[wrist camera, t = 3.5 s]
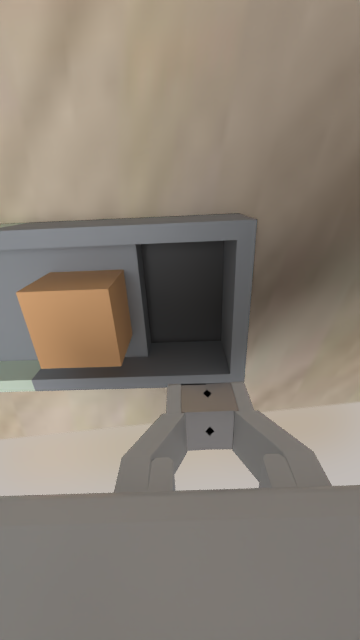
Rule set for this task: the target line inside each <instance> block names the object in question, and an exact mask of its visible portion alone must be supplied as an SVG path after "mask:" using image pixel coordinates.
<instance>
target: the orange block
mask: <svg viewBox="0 0 360 640" xmlns="http://www.w3.org/2000/svg"><path fill="white" fill-rule="evenodd" d="M16 295H17V298H18V301H19V304H20V307H21V310H22V313H23V316H24V319H25V322H26V325H27V328H28V331H29V334H30V337H31V340H32V343H33V346H34V349H35V352H36V355H37V358H38V361H39V364H40V367H41V369H51V368H84V367H117V366H122V363H123V360H124V357H125V355H126V352H127V349H128V346H129V343H130V340H131V338H132V327H131V320H130V313H129V306H128V299H127V291H126V284H125V277H124V270H123V269H122V270H97V271H72V272H50V273H48V274H46V275H45V276H43V277H41V278H39V279H38V280H36V281H34V282H33V283H31V284H29V285H27V286H26V287H24V288H22V289H21V290H19V291H17V292H16Z"/></svg>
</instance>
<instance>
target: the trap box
mask: <svg viewBox="0 0 360 640" xmlns="http://www.w3.org/2000/svg"><path fill="white" fill-rule="evenodd" d="M256 228H257V219H254V218H251V217H248V216H245V215H242V214H239V213H235V214H213V215H191V216H169V217H146V218H124V219H102V220H80V221H57V222H35V223H13V224H0V392H20V391H56V390H92V389H127V388H163V387H168V384H194V383H230V382H239V381H243V382H244V377H245V365H246V352H247V340H248V327H249V315H250V303H251V290H252V278H253V265H254V253H255V241H256ZM122 269H123V270H124V277H125V284H126V291H127V299H128V306H129V313H130V320H131V327H132V338H131V340H130V343H129V346H128V349H127V352H126V355H125V357H124V360H123V363H122V366H117V367H84V368H51V369H41V367H40V364H39V361H38V358H37V355H36V352H35V349H34V346H33V343H32V340H31V337H30V334H29V331H28V328H27V325H26V322H25V319H24V316H23V313H22V310H21V307H20V304H19V301H18V298H17V295H16V292H17V291H19V290H21V289H22V288H24V287H26V286H27V285H29V284H31V283H33V282H34V281H36V280H38V279H39V278H41V277H43V276H45V275H46V274H48V273H50V272H72V271H97V270H122Z"/></svg>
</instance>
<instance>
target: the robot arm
mask: <svg viewBox="0 0 360 640" xmlns="http://www.w3.org/2000/svg"><path fill="white" fill-rule="evenodd" d="M205 449H233V451H234V452H235V454H236V455H237V456H238V457H239V458H240V460H241V461H242V462H243V463H244V464H245V466H246V467H247V468H248V469H249V470H250V472H251V473H252V474H253V475H254V476H255V478H256V479H257V480H258V481H259V482H260V483H259V488H254V489H252V488H251V489H222V490H221V489H220V490H186V491H175V479H174V474H175V472H176V471H177V469H178V467H179V465H180V464H181V462H182V460H183V458H184V457H185V455H186V453H187V451H188V450H205ZM0 640H360V485H350V486H332V485H331V483H330V481H329V480H328V478H327V476H326V474H325V472H324V471H323V468H322V467H321V465H320V463H319V461H318V459H317V457H316V455H315V453H314V452H313V451H312V450H311V449H309V448H308V447H306V446H305V445H304V444H302V443H301V442H300V441H298V440H297V439H296V438H294V437H293V436H292V435H290V434H289V433H288V432H286V431H285V430H284V429H282V428H281V427H280V426H278V425H277V424H276V423H274V422H273V421H272V420H270V419H269V418H268V417H266V416H265V415H264V414H262V413H261V412H260V411H258V410H257V411H254V408H253V405H252V402H251V400H250V397H249V394H248V392H247V389H246V386H245V383H244V382H243V381H239V382H230V383H194V384H168V387H167V403H166V414H161V416H160V417H159V418H158V419H157V420H156V421H155V422H154V423H153V424H152V425H151V426H150V428H149V429H148V430H147V431H146V432H145V433H144V434H143V435H142V436H141V437H140V438H139V440H138V441H137V442H136V443H135V444H134V445H133V446H132V447H131V448H130V449H129V450H128V452H127V453H126V454H125V455H124V456H123V457H122V459H121V464H120V468H119V473H118V477H117V481H116V486H115V490H114V493H92V494H91V493H89V494H58V495H25V496H0Z"/></svg>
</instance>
